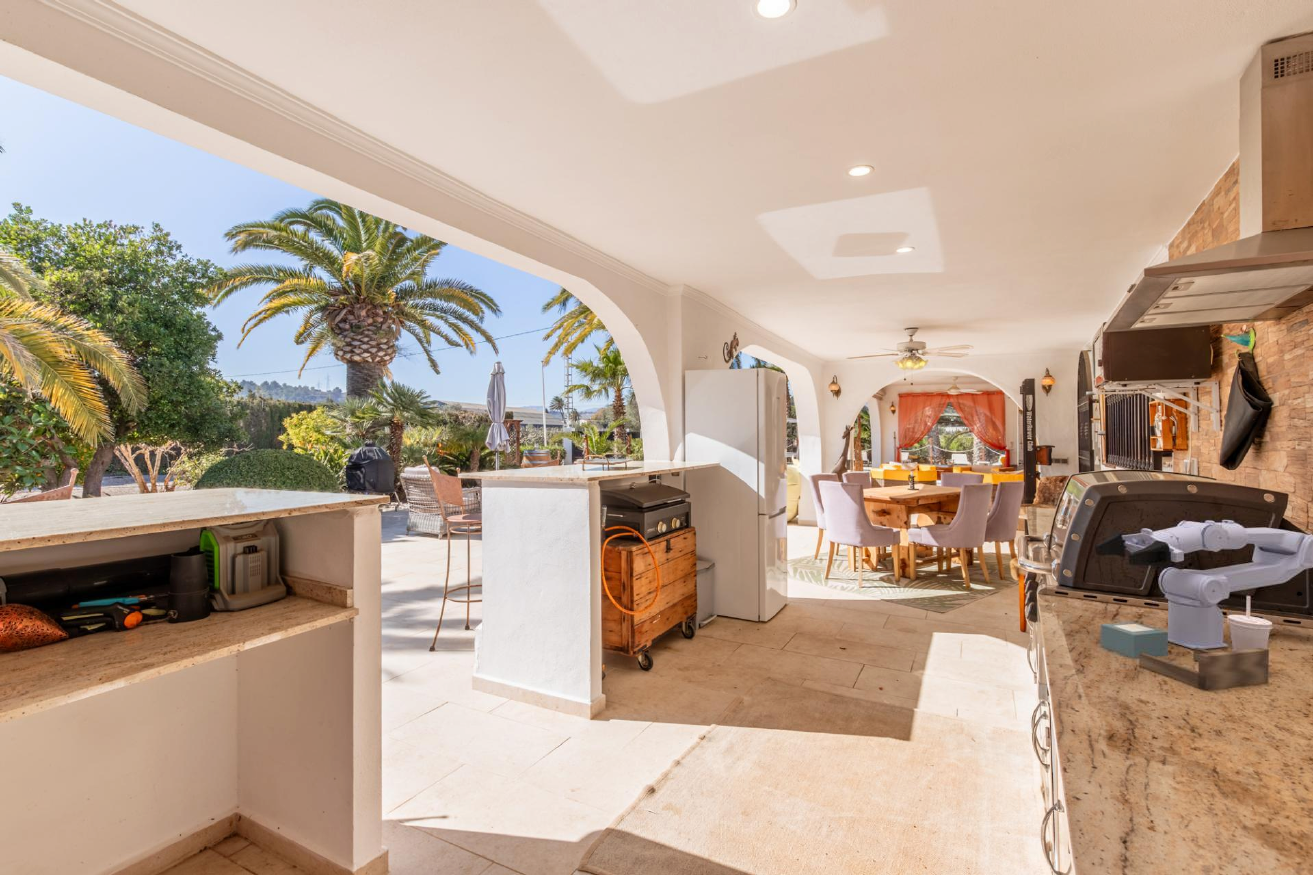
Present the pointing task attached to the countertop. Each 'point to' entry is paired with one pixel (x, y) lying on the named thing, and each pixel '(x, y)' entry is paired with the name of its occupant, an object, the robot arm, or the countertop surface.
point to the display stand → (1215, 668)
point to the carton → (1134, 639)
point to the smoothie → (1248, 630)
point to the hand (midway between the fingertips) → (1113, 554)
